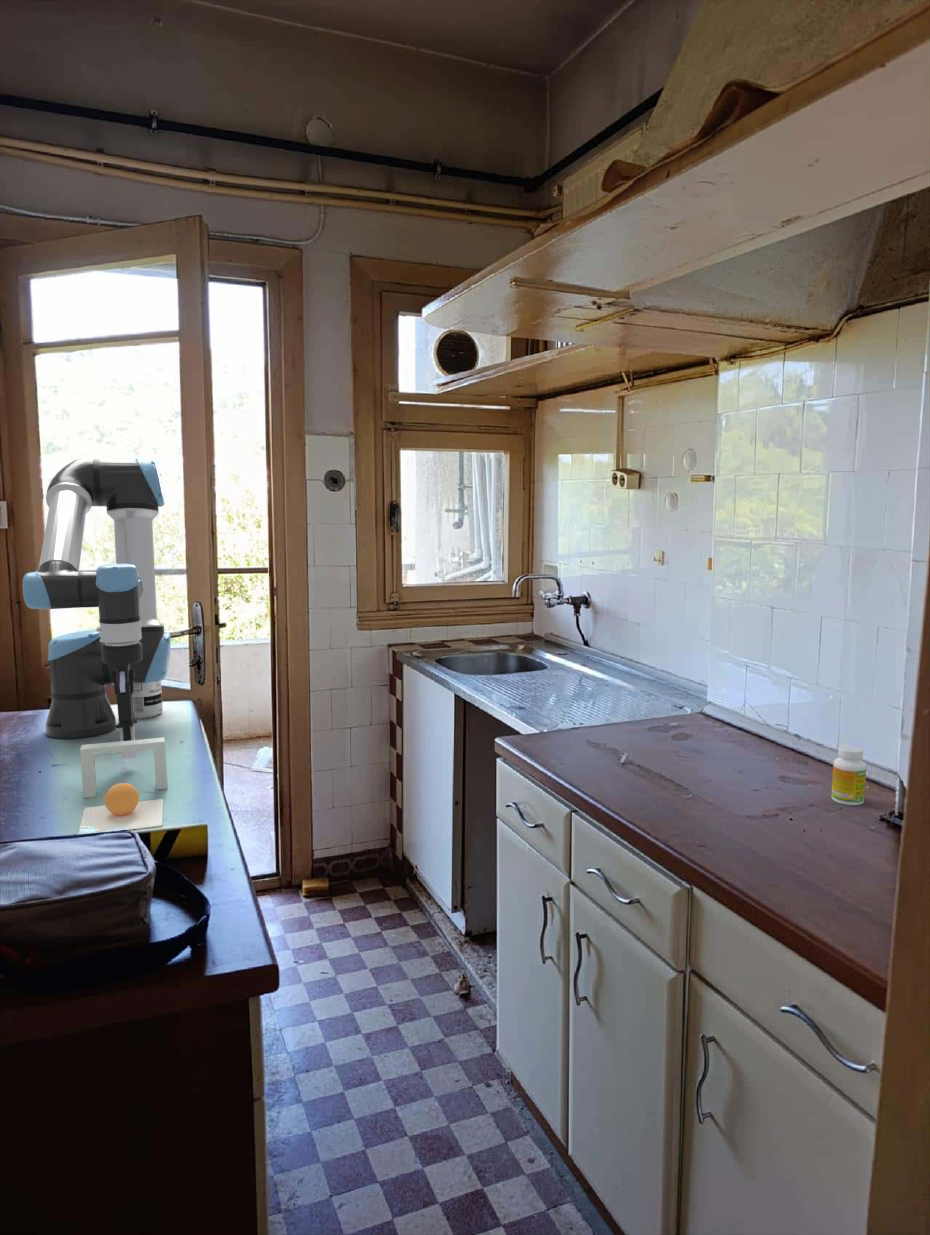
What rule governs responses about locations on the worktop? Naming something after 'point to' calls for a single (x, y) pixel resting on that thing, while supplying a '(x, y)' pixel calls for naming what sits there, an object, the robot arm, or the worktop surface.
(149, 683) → the supplement can
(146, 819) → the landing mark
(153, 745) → the bridge
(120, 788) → the ball
